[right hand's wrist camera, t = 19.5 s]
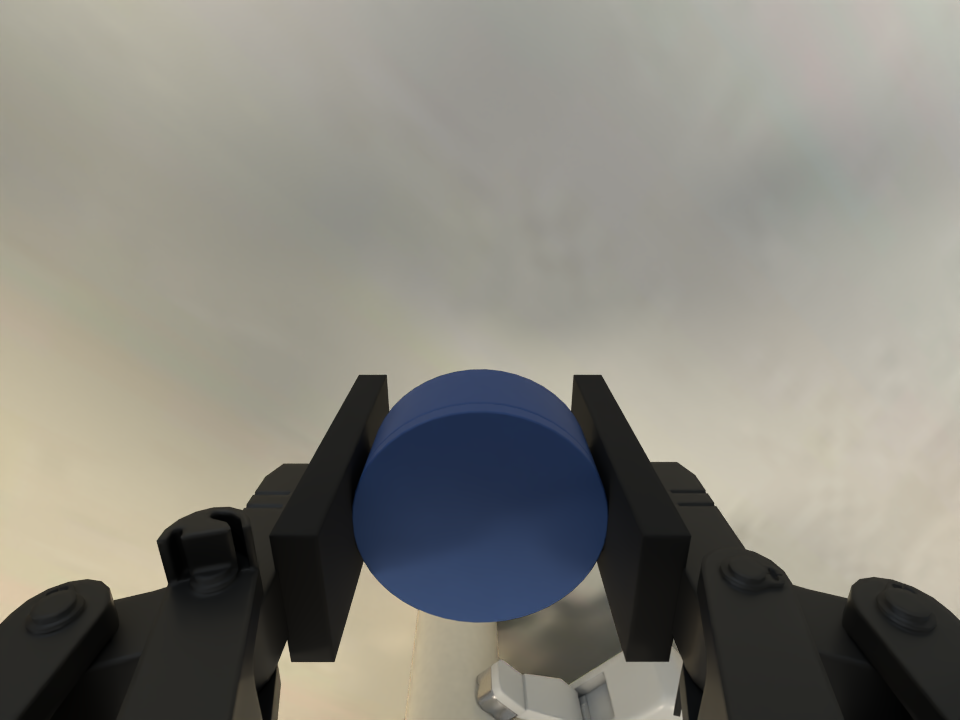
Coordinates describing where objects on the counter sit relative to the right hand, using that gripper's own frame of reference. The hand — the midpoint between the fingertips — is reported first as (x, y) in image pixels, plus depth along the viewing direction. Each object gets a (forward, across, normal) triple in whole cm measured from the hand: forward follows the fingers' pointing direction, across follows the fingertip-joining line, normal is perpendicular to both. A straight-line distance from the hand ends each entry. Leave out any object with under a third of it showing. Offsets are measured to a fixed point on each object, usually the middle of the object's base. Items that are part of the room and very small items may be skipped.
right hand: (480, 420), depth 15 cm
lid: (-4, 0, 0) cm, 4 cm away
